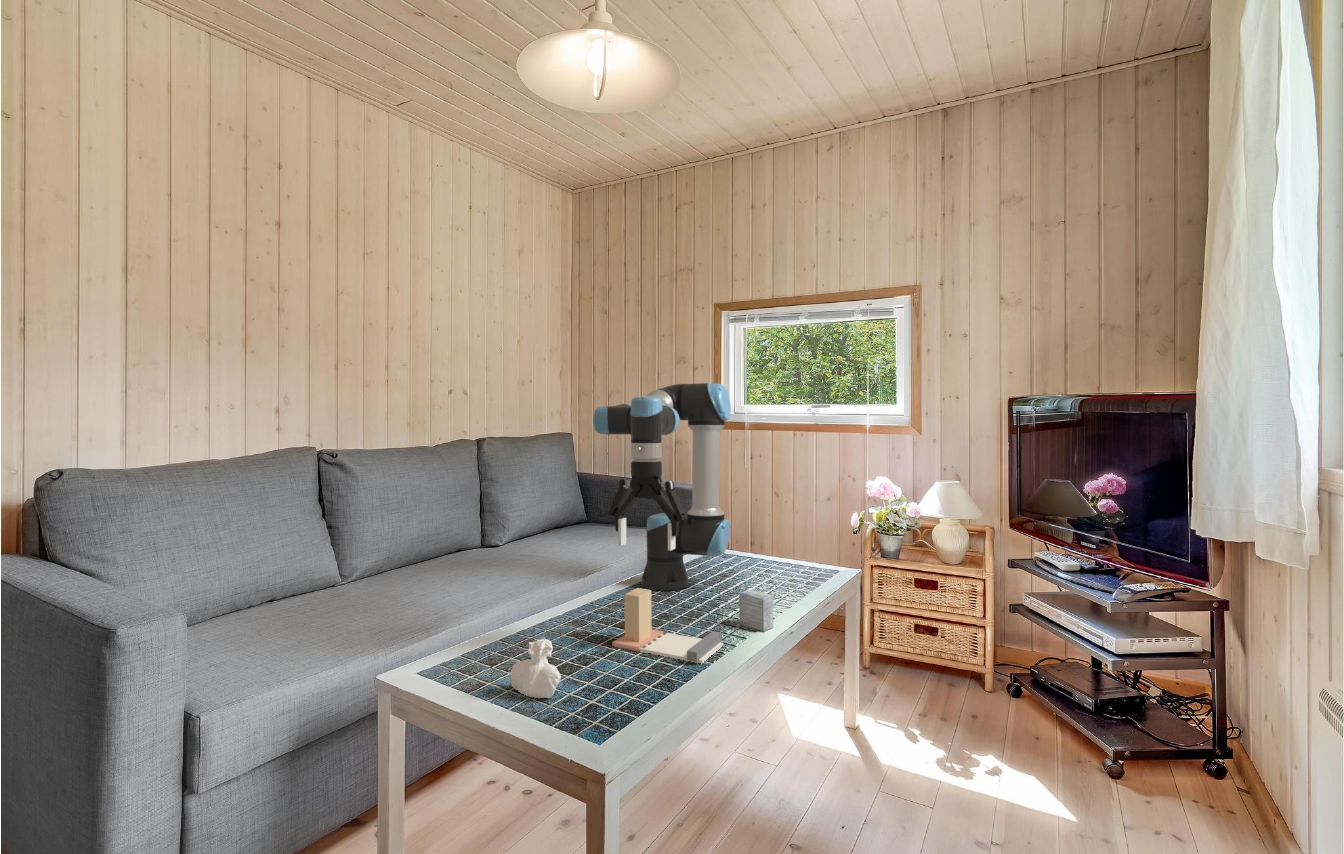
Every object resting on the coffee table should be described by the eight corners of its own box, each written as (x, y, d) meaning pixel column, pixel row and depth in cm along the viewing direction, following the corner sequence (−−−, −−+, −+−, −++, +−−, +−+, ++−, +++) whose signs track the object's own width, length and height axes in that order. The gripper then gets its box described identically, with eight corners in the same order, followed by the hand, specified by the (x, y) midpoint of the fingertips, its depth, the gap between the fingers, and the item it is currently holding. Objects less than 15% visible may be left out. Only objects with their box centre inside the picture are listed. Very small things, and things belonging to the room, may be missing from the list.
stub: (612, 646, 154) (611, 596, 153) (638, 630, 164) (637, 584, 164) (638, 651, 150) (638, 600, 150) (663, 635, 161) (662, 587, 161)
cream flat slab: (637, 653, 149) (637, 641, 149) (666, 634, 162) (666, 623, 162) (700, 666, 142) (699, 653, 142) (724, 645, 154) (724, 633, 154)
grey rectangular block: (773, 627, 166) (773, 594, 166) (763, 632, 163) (763, 598, 163) (749, 621, 172) (748, 589, 172) (738, 625, 169) (738, 592, 168)
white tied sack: (562, 708, 127) (582, 652, 133) (542, 697, 122) (564, 639, 128) (515, 696, 133) (536, 642, 139) (494, 685, 128) (517, 629, 133)
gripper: (594, 459, 159) (594, 545, 159) (686, 462, 148) (686, 554, 148) (610, 458, 165) (610, 540, 166) (699, 460, 155) (699, 548, 155)
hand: (646, 547), depth 157 cm, fingers open, 13 cm apart
